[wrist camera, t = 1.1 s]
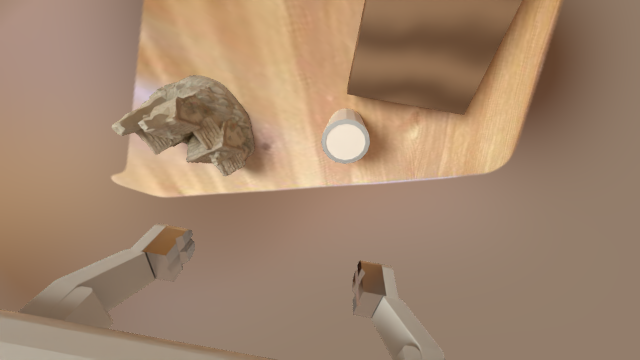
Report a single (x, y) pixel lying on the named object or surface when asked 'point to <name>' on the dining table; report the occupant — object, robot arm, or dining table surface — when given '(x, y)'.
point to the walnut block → (427, 50)
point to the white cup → (345, 137)
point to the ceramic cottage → (194, 123)
